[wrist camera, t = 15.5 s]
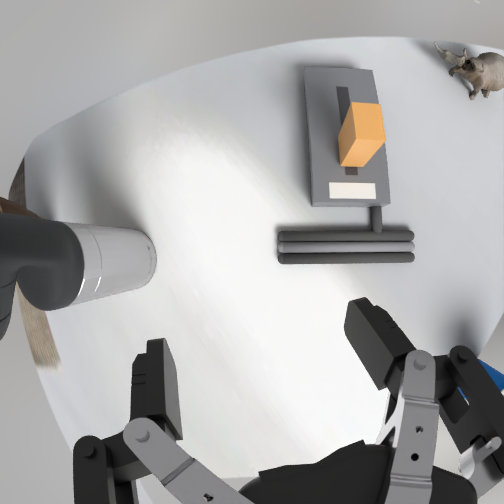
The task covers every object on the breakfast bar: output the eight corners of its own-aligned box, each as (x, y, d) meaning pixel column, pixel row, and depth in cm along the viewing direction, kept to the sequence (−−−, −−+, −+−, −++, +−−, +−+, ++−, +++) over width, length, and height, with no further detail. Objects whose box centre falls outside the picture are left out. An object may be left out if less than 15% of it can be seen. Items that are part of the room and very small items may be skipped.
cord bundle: (278, 263, 41) (277, 264, 39) (277, 191, 41) (276, 189, 39) (412, 262, 38) (416, 262, 37) (410, 192, 38) (413, 191, 37)
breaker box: (311, 206, 40) (314, 202, 36) (303, 80, 40) (304, 66, 36) (381, 207, 39) (390, 203, 35) (366, 83, 39) (372, 69, 34)
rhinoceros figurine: (519, 106, 32) (522, 63, 21) (461, 117, 41) (450, 77, 30) (503, 72, 33) (499, 26, 22) (448, 84, 42) (432, 41, 31)
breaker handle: (340, 166, 35) (356, 138, 25) (337, 136, 35) (351, 102, 25) (363, 166, 35) (385, 140, 25) (360, 137, 35) (380, 104, 25)
